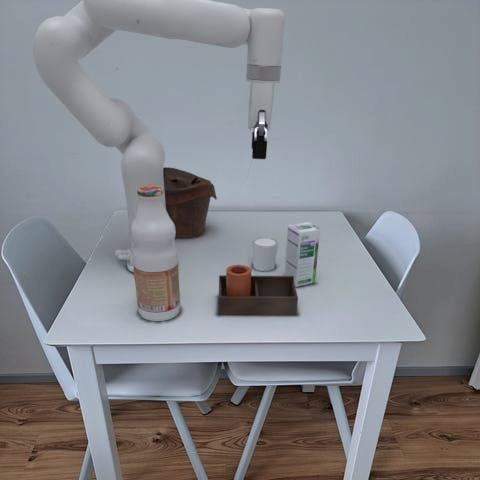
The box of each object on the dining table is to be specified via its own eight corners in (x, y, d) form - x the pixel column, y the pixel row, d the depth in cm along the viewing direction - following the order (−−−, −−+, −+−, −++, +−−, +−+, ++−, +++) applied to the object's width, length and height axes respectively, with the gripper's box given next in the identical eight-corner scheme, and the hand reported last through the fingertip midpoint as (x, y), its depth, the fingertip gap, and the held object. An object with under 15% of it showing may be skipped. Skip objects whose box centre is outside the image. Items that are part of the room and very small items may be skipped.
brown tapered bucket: (215, 243, 145) (215, 182, 136) (147, 241, 145) (142, 180, 136) (218, 221, 160) (218, 165, 151) (157, 220, 160) (152, 164, 151)
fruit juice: (148, 326, 105) (136, 198, 91) (131, 307, 112) (118, 185, 98) (187, 315, 110) (182, 190, 95) (169, 297, 116) (161, 178, 102)
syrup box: (295, 287, 122) (300, 232, 114) (283, 277, 126) (287, 223, 119) (315, 283, 124) (321, 228, 117) (302, 274, 129) (307, 220, 121)
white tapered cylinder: (274, 273, 129) (276, 248, 125) (248, 270, 130) (249, 245, 126) (278, 262, 134) (279, 238, 131) (253, 259, 136) (254, 235, 132)
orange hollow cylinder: (226, 311, 112) (226, 275, 107) (226, 299, 116) (226, 264, 112) (250, 311, 112) (251, 275, 107) (249, 299, 116) (250, 264, 112)
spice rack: (218, 314, 110) (218, 293, 107) (219, 296, 118) (219, 275, 115) (296, 315, 111) (298, 293, 108) (292, 296, 118) (293, 275, 115)
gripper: (246, 70, 116) (242, 145, 125) (246, 77, 102) (242, 162, 111) (278, 71, 117) (272, 146, 125) (283, 79, 102) (276, 163, 111)
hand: (258, 153), depth 118 cm, fingers open, 9 cm apart
